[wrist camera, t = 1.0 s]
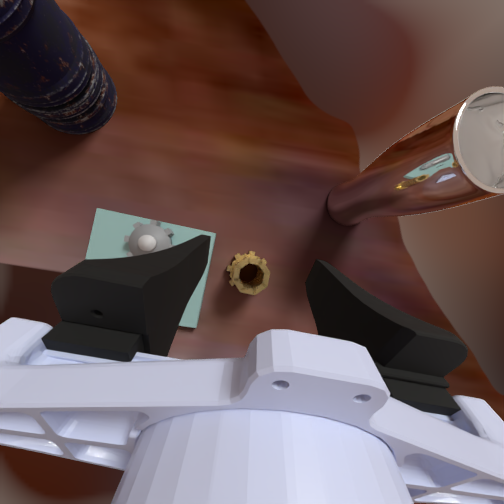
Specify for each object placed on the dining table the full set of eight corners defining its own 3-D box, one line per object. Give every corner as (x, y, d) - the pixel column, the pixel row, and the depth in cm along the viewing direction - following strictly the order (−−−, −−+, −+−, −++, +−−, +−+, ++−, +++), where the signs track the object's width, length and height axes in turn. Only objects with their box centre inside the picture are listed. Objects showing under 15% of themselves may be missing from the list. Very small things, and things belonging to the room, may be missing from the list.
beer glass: (365, 233, 26) (540, 207, 11) (319, 223, 26) (442, 182, 11) (373, 185, 26) (555, 99, 12) (328, 174, 26) (461, 67, 11)
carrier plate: (197, 324, 24) (190, 339, 20) (81, 306, 22) (48, 318, 18) (216, 234, 24) (213, 230, 20) (102, 210, 22) (75, 200, 19)
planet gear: (263, 294, 25) (271, 305, 20) (223, 287, 24) (221, 296, 19) (271, 255, 25) (280, 256, 20) (231, 247, 24) (231, 246, 19)
